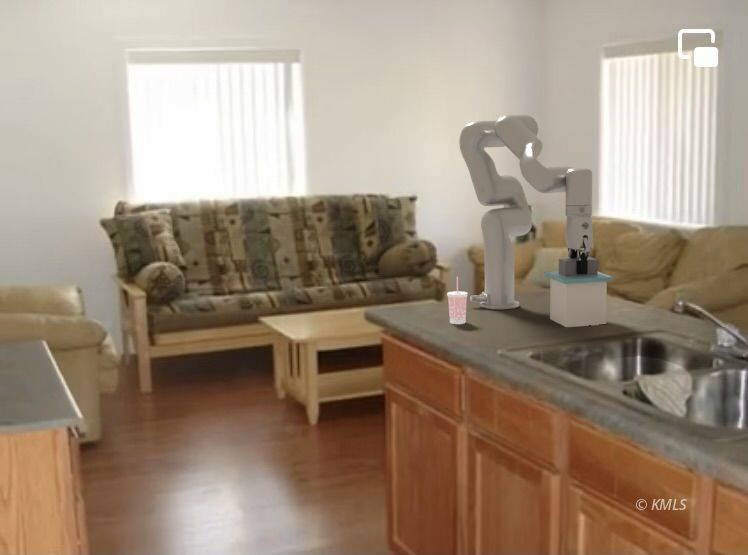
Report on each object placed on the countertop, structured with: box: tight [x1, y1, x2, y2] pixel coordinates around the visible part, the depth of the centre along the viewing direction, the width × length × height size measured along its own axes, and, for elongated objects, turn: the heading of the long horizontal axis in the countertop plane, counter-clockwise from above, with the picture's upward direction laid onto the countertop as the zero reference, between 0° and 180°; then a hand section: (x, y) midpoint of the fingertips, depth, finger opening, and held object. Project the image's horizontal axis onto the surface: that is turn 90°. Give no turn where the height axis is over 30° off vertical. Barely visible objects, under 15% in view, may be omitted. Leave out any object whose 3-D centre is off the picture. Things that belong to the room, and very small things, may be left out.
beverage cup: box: [446, 275, 468, 325], centre depth 299 cm, size 6×6×14 cm
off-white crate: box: [549, 278, 608, 328], centre depth 296 cm, size 12×12×13 cm
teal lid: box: [544, 256, 614, 284], centre depth 294 cm, size 15×15×6 cm
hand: (577, 271), depth 294 cm, fingers closed on teal lid, 5 cm apart
